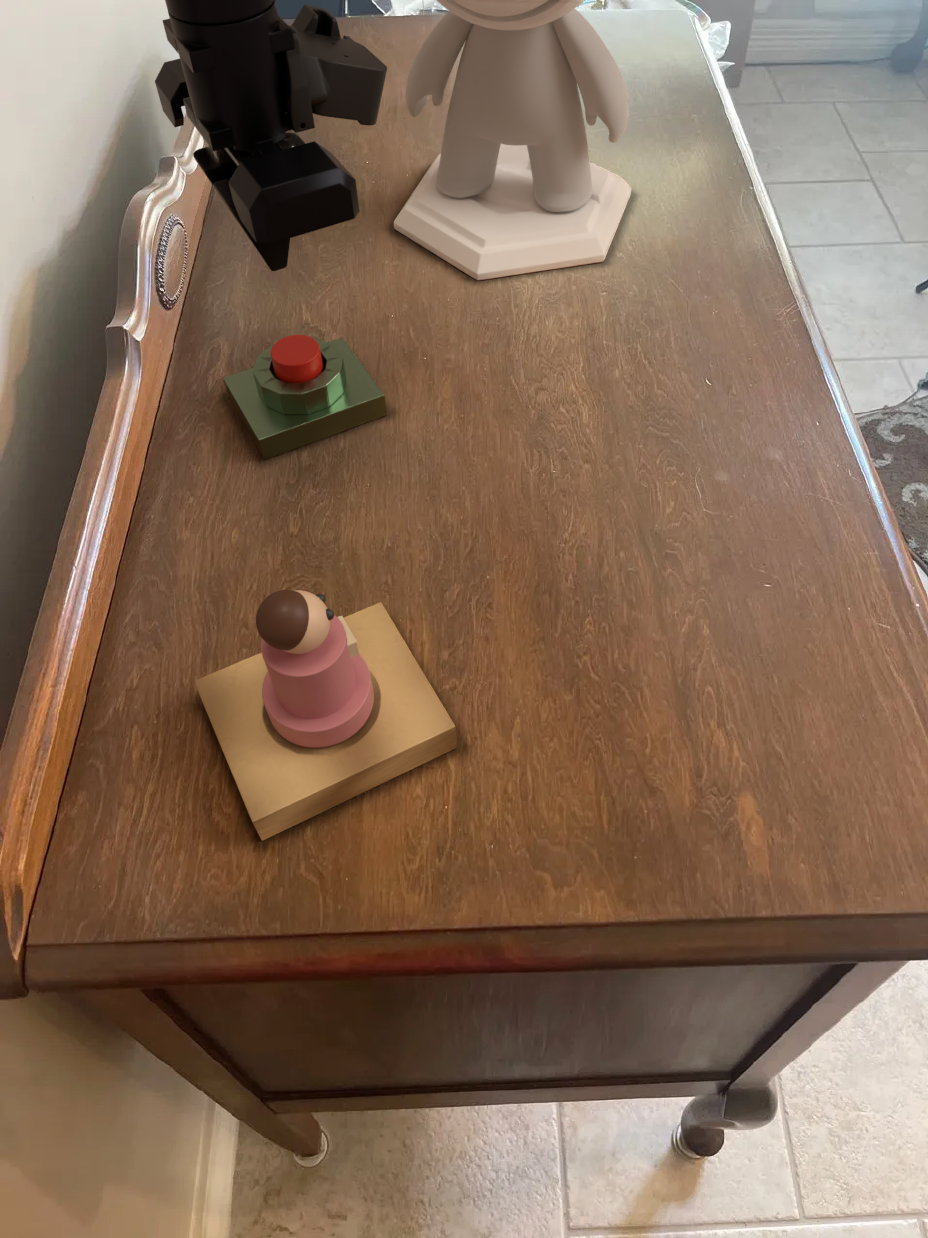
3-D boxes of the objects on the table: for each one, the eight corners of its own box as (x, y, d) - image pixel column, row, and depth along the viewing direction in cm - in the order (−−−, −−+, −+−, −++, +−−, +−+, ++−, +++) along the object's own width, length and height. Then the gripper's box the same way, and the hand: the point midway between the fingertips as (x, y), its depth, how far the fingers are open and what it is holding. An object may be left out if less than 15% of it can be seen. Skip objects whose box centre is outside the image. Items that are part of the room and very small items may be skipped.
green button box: (264, 460, 68) (252, 418, 65) (228, 397, 72) (216, 355, 69) (387, 415, 70) (381, 373, 67) (345, 357, 75) (338, 315, 71)
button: (285, 390, 67) (280, 371, 65) (267, 363, 69) (263, 343, 67) (330, 374, 68) (327, 355, 66) (312, 348, 70) (308, 328, 68)
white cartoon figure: (371, 263, 82) (306, -273, 54) (452, 140, 95) (433, -346, 67) (588, 299, 78) (640, -261, 50) (642, 165, 91) (708, -341, 63)
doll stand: (262, 841, 50) (252, 822, 48) (204, 703, 55) (193, 680, 53) (457, 748, 53) (455, 726, 51) (384, 625, 58) (380, 601, 56)
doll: (292, 766, 50) (254, 668, 42) (252, 684, 53) (211, 579, 45) (391, 718, 51) (373, 616, 44) (347, 642, 54) (323, 534, 47)
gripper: (435, 32, 46) (448, 303, 59) (297, -79, 56) (334, 173, 69) (223, 85, 43) (285, 358, 56) (118, -42, 53) (190, 214, 66)
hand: (277, 266), depth 62 cm, fingers closed
